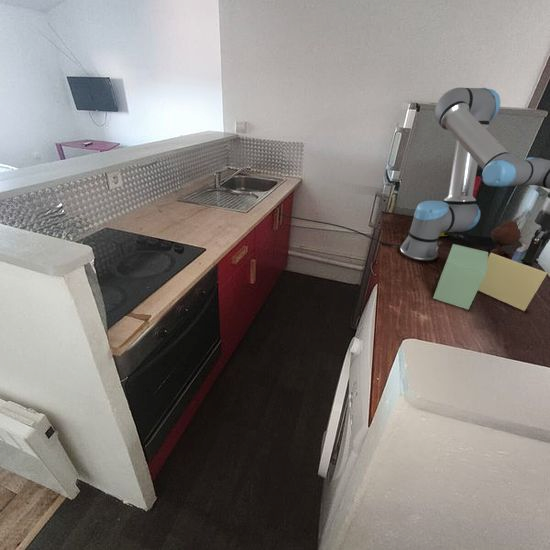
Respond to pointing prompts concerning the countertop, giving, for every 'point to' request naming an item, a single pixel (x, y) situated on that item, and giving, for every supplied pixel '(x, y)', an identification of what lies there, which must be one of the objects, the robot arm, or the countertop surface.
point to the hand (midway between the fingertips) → (519, 278)
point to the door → (511, 281)
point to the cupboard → (461, 276)
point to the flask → (520, 253)
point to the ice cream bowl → (505, 236)
